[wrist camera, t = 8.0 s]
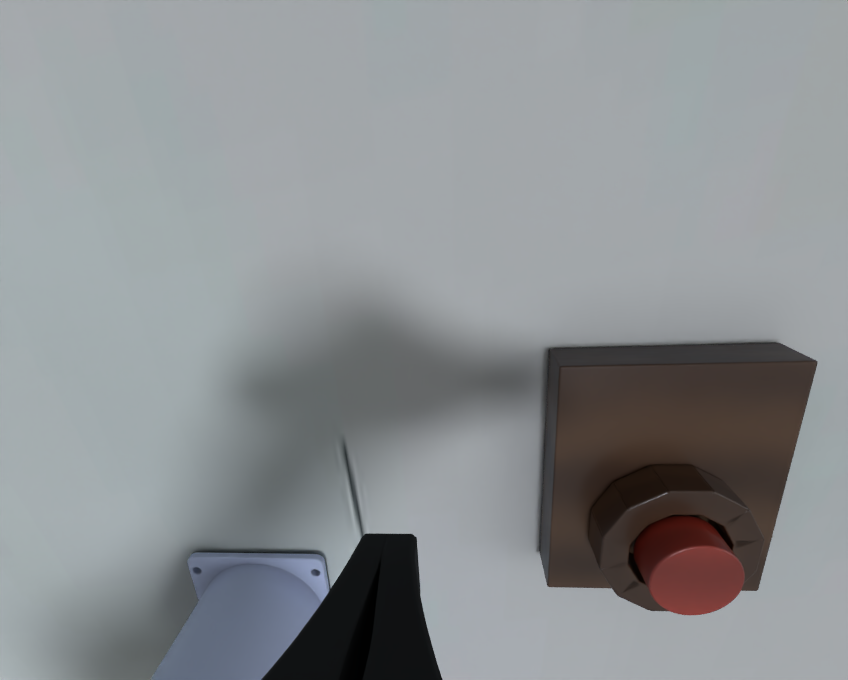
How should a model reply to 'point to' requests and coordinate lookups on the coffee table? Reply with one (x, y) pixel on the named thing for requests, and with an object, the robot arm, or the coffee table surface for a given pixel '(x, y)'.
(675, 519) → the button
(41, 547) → the coffee table surface
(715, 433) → the switch block
